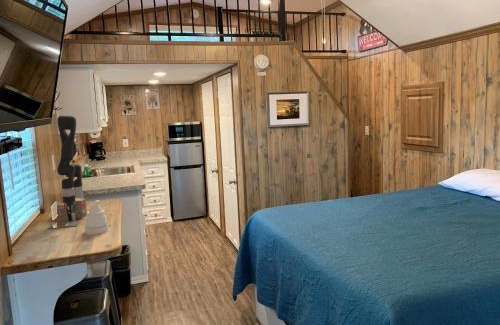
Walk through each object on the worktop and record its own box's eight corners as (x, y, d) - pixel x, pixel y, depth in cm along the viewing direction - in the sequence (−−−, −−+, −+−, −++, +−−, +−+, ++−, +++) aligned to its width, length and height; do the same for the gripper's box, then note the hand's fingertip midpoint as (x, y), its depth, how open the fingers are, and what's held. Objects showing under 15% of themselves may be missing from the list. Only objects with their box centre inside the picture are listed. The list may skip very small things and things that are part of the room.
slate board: (51, 224, 250) (51, 223, 249) (78, 222, 254) (78, 220, 254) (48, 229, 240) (48, 228, 240) (76, 226, 245) (76, 225, 245)
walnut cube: (58, 223, 249) (57, 216, 248) (66, 223, 250) (66, 215, 249) (57, 226, 244) (56, 218, 243) (65, 225, 245) (65, 217, 245)
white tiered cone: (100, 226, 244) (97, 198, 241) (112, 229, 236) (110, 200, 234) (80, 231, 233) (78, 202, 231) (93, 235, 226) (91, 205, 224)
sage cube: (67, 220, 259) (66, 213, 259) (75, 219, 261) (74, 212, 260) (66, 222, 255) (65, 215, 254) (74, 221, 256) (73, 214, 255)
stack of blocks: (51, 218, 265) (50, 200, 263) (56, 216, 271) (55, 198, 270) (82, 218, 264) (81, 200, 262) (87, 215, 270) (85, 198, 269)
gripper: (63, 193, 261) (66, 217, 263) (60, 197, 247) (63, 223, 250) (76, 192, 263) (78, 216, 265) (73, 196, 250) (75, 222, 252)
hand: (70, 219), depth 258 cm, fingers open, 5 cm apart
